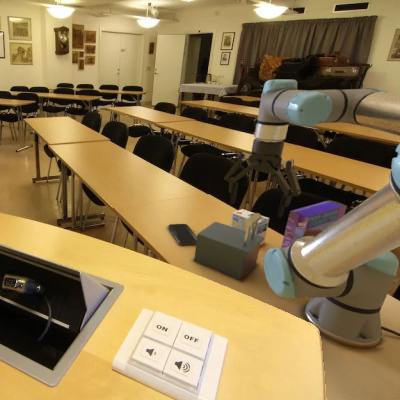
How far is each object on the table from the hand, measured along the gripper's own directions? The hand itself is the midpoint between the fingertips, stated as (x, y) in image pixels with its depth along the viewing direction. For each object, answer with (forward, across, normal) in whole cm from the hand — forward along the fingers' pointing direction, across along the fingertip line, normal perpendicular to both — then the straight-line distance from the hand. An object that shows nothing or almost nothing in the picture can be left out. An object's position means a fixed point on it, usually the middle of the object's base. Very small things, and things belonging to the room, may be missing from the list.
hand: (254, 209), depth 96 cm
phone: (+22, +26, -7) cm, 35 cm away
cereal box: (+22, -14, -8) cm, 27 cm away
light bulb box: (+22, +7, -20) cm, 30 cm away
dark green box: (+22, +6, 0) cm, 22 cm away
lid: (+12, +6, 0) cm, 13 cm away
